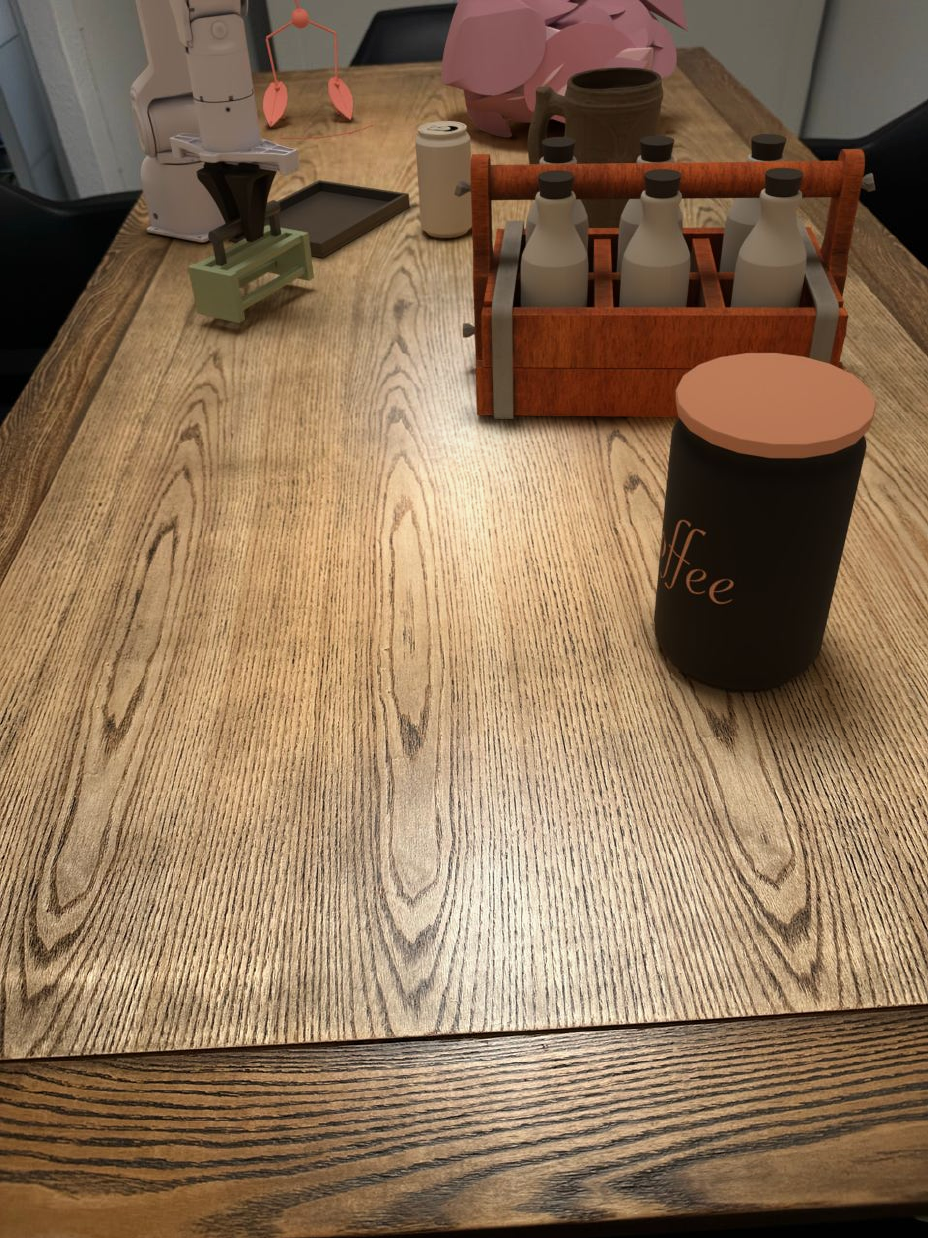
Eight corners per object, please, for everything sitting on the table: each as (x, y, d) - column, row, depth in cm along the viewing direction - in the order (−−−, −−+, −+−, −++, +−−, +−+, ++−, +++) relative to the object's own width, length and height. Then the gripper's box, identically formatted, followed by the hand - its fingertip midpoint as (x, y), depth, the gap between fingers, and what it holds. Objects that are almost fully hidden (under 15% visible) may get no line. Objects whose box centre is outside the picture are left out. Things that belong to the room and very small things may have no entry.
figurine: (230, 120, 174) (186, -144, 151) (389, 109, 175) (368, -155, 153) (224, 148, 162) (175, -135, 140) (394, 135, 163) (373, -146, 141)
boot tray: (228, 240, 131) (226, 226, 130) (320, 192, 144) (318, 179, 143) (323, 258, 126) (321, 243, 124) (409, 206, 138) (408, 193, 137)
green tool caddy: (197, 313, 111) (180, 231, 106) (274, 269, 120) (262, 191, 115) (239, 323, 109) (224, 240, 104) (314, 277, 118) (304, 198, 112)
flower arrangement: (653, 139, 173) (678, -68, 160) (693, 151, 153) (724, -86, 140) (437, 129, 170) (444, -83, 157) (448, 139, 149) (456, -104, 136)
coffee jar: (636, 600, 74) (656, 358, 62) (789, 587, 74) (835, 345, 63) (673, 707, 66) (703, 451, 54) (844, 692, 66) (909, 435, 55)
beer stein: (673, 256, 122) (677, 61, 109) (644, 292, 114) (645, 87, 102) (547, 249, 128) (537, 64, 115) (512, 283, 120) (497, 88, 108)
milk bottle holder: (471, 321, 110) (464, 120, 98) (820, 322, 107) (858, 114, 95) (451, 422, 94) (439, 198, 82) (861, 427, 91) (914, 193, 79)
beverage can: (467, 241, 128) (464, 134, 120) (415, 239, 129) (408, 133, 121) (478, 222, 133) (475, 119, 125) (427, 220, 134) (421, 118, 126)
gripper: (137, 97, 102) (168, 239, 111) (257, 112, 96) (280, 261, 105) (187, 80, 107) (212, 217, 116) (304, 93, 101) (322, 237, 110)
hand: (247, 237), depth 111 cm, fingers closed on green tool caddy
